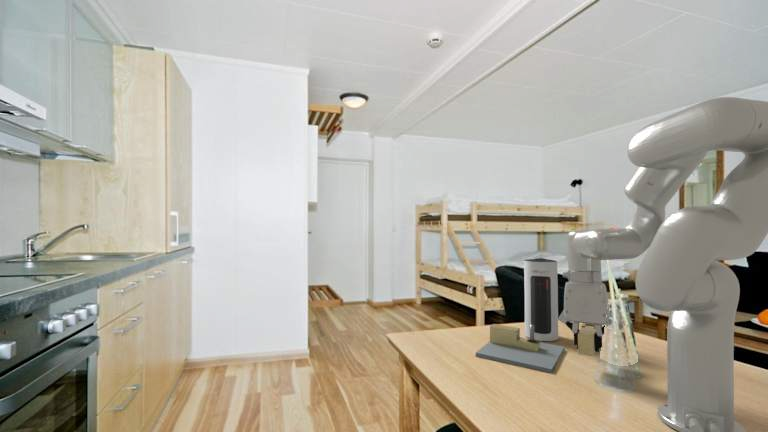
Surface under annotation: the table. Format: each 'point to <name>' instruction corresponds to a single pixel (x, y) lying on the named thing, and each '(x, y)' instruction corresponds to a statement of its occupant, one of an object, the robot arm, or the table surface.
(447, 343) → the table surface
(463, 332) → the table surface
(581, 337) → the beige block
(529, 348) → the fixed leaf
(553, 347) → the grey base plate
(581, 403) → the table surface
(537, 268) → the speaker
